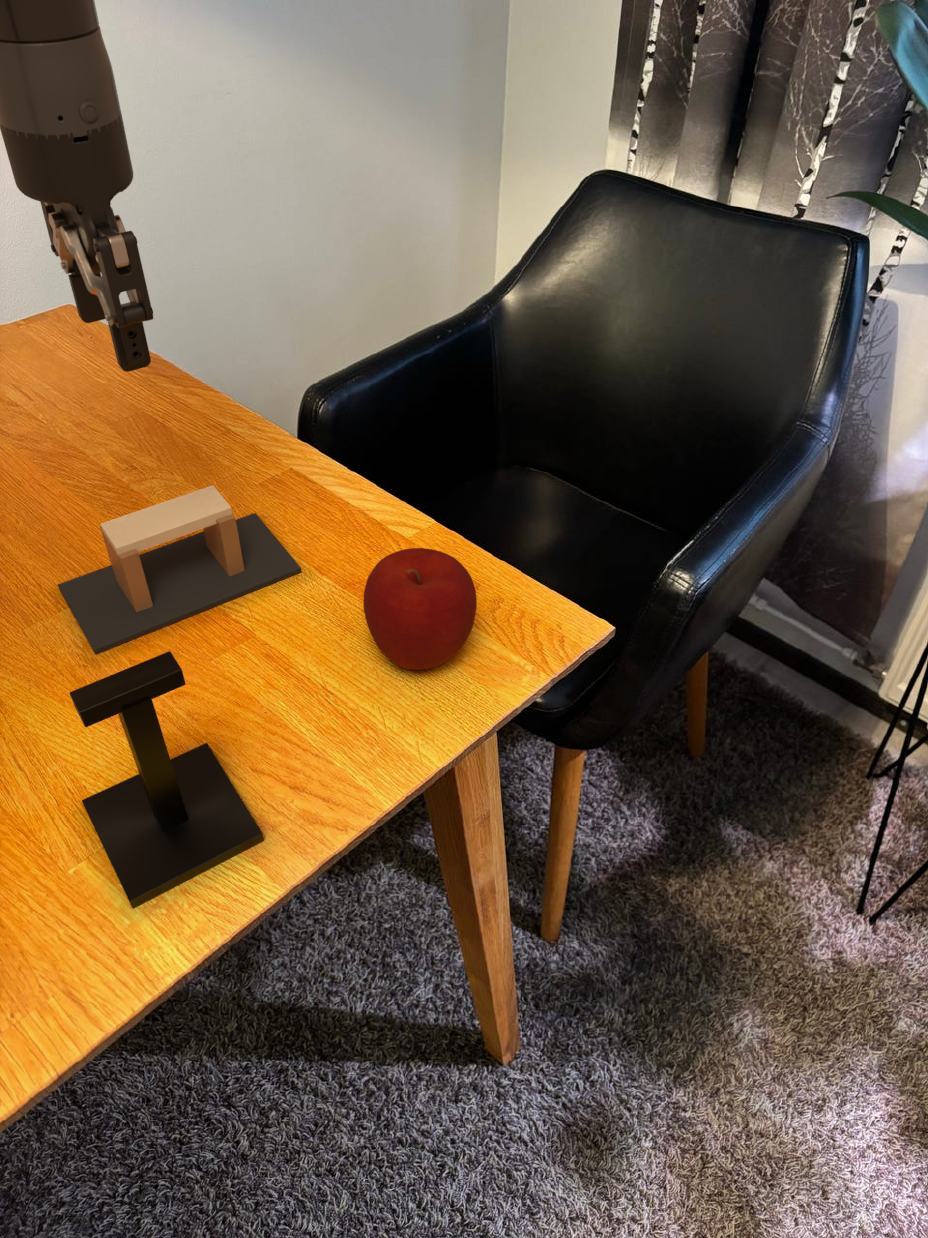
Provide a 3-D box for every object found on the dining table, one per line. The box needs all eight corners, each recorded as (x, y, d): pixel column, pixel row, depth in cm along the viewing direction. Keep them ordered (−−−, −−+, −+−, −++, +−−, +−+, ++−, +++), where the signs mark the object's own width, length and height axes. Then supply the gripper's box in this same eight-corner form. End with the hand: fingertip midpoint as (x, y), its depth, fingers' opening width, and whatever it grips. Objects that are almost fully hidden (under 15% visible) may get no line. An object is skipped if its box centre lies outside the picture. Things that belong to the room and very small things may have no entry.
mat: (95, 654, 84) (93, 650, 84) (59, 589, 90) (57, 584, 89) (301, 572, 92) (301, 567, 92) (256, 517, 98) (255, 512, 98)
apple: (426, 599, 90) (426, 514, 83) (497, 655, 85) (503, 570, 78) (345, 647, 85) (337, 561, 78) (415, 709, 80) (414, 624, 74)
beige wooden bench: (136, 613, 87) (118, 552, 82) (116, 580, 90) (97, 519, 85) (245, 571, 91) (234, 510, 86) (222, 541, 94) (210, 481, 89)
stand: (132, 909, 67) (72, 769, 56) (84, 807, 73) (21, 663, 62) (264, 840, 71) (233, 698, 60) (209, 750, 77) (171, 604, 66)
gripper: (-32, 87, 64) (35, 316, 75) (32, 153, 56) (98, 399, 67) (80, 72, 67) (129, 294, 79) (157, 132, 59) (200, 370, 70)
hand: (115, 342), depth 73 cm, fingers open, 8 cm apart
